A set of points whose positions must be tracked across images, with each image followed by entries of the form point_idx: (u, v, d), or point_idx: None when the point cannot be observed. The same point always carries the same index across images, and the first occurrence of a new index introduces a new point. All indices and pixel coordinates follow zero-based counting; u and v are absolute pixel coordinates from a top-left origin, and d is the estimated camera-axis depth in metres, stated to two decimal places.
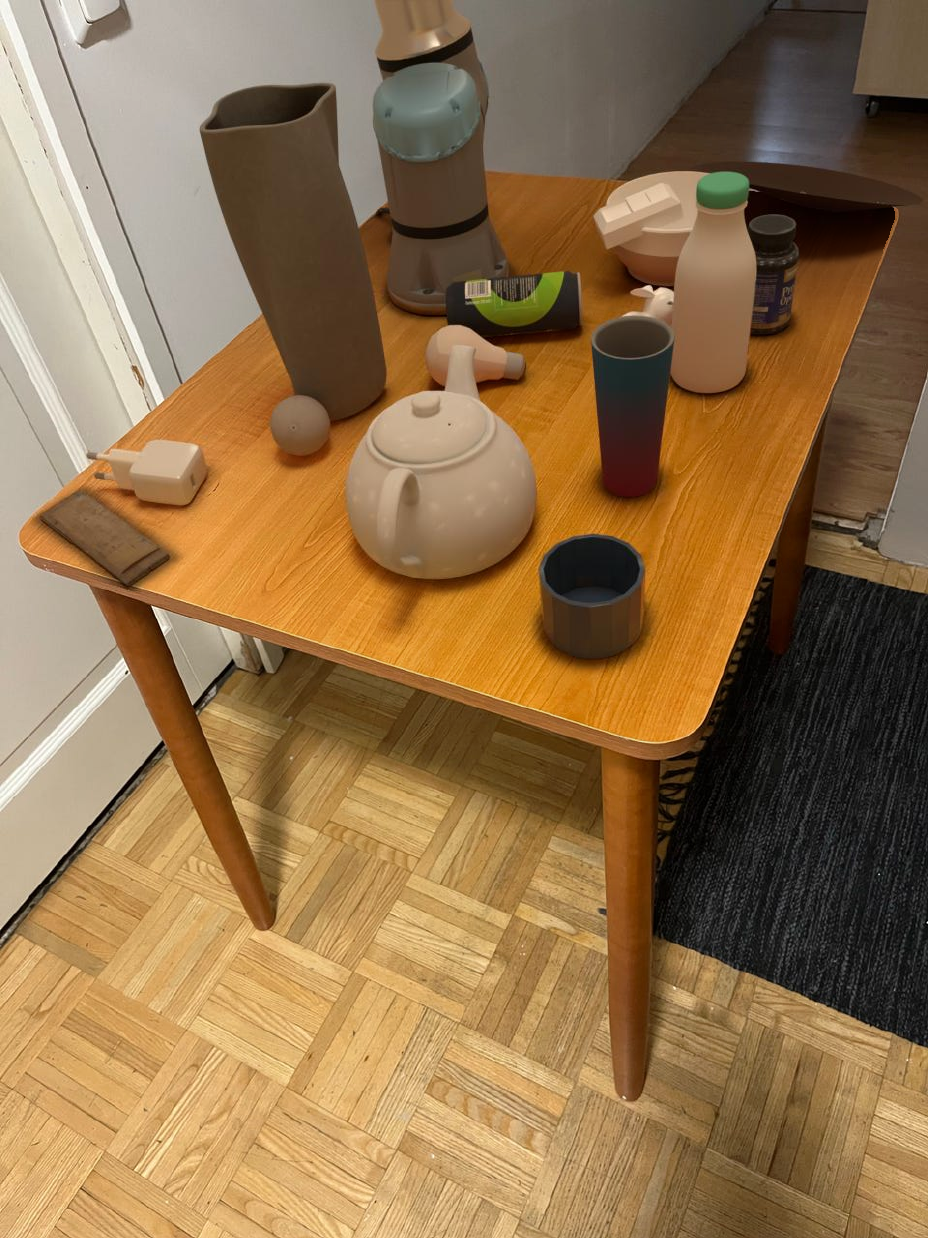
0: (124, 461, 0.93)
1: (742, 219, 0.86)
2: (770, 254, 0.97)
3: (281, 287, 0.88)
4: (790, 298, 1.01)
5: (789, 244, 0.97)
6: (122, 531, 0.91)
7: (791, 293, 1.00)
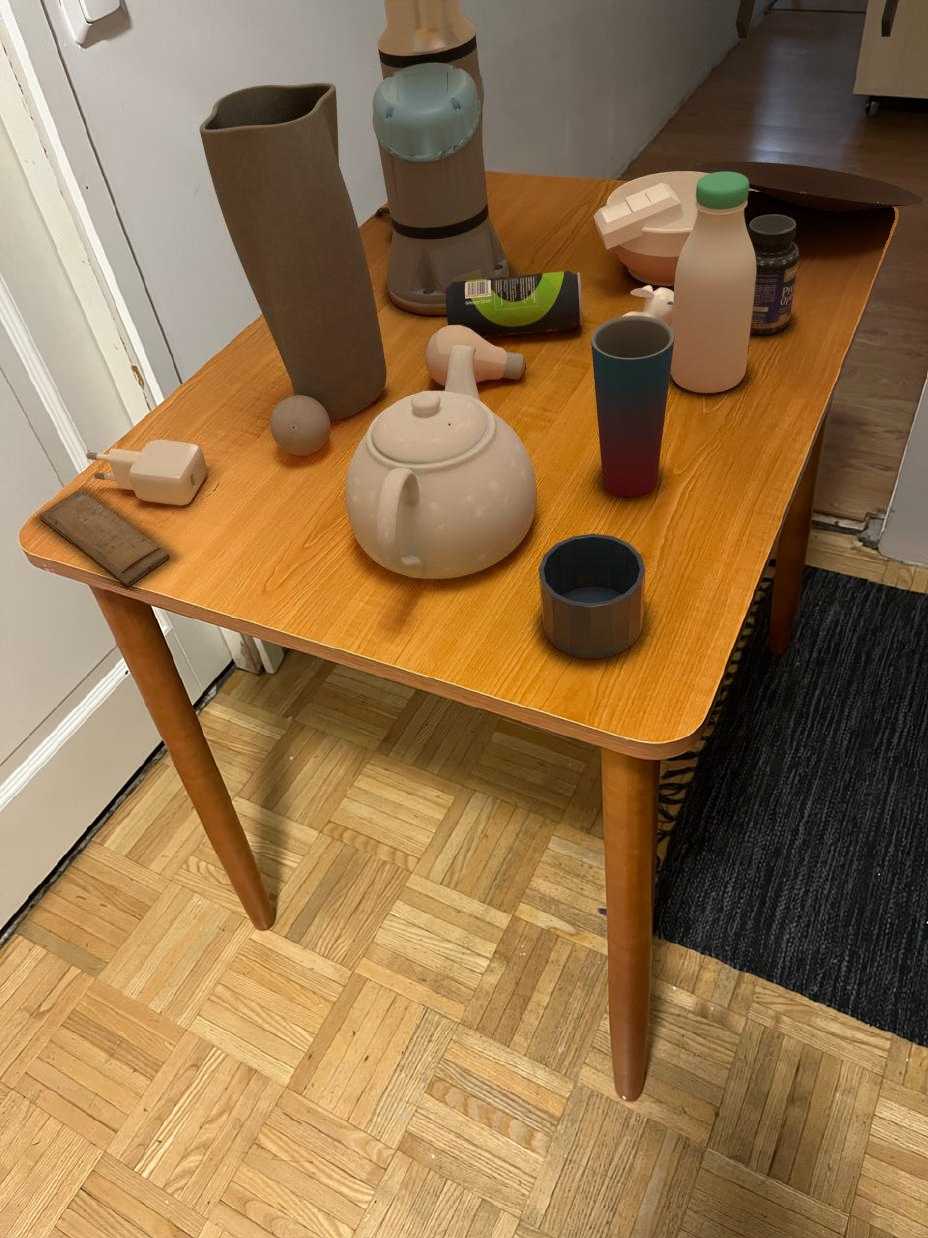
0: (124, 461, 0.93)
1: (742, 219, 0.86)
2: (770, 253, 0.97)
3: (281, 287, 0.88)
4: (790, 298, 1.01)
5: (789, 244, 0.97)
6: (122, 531, 0.91)
7: (791, 293, 1.00)
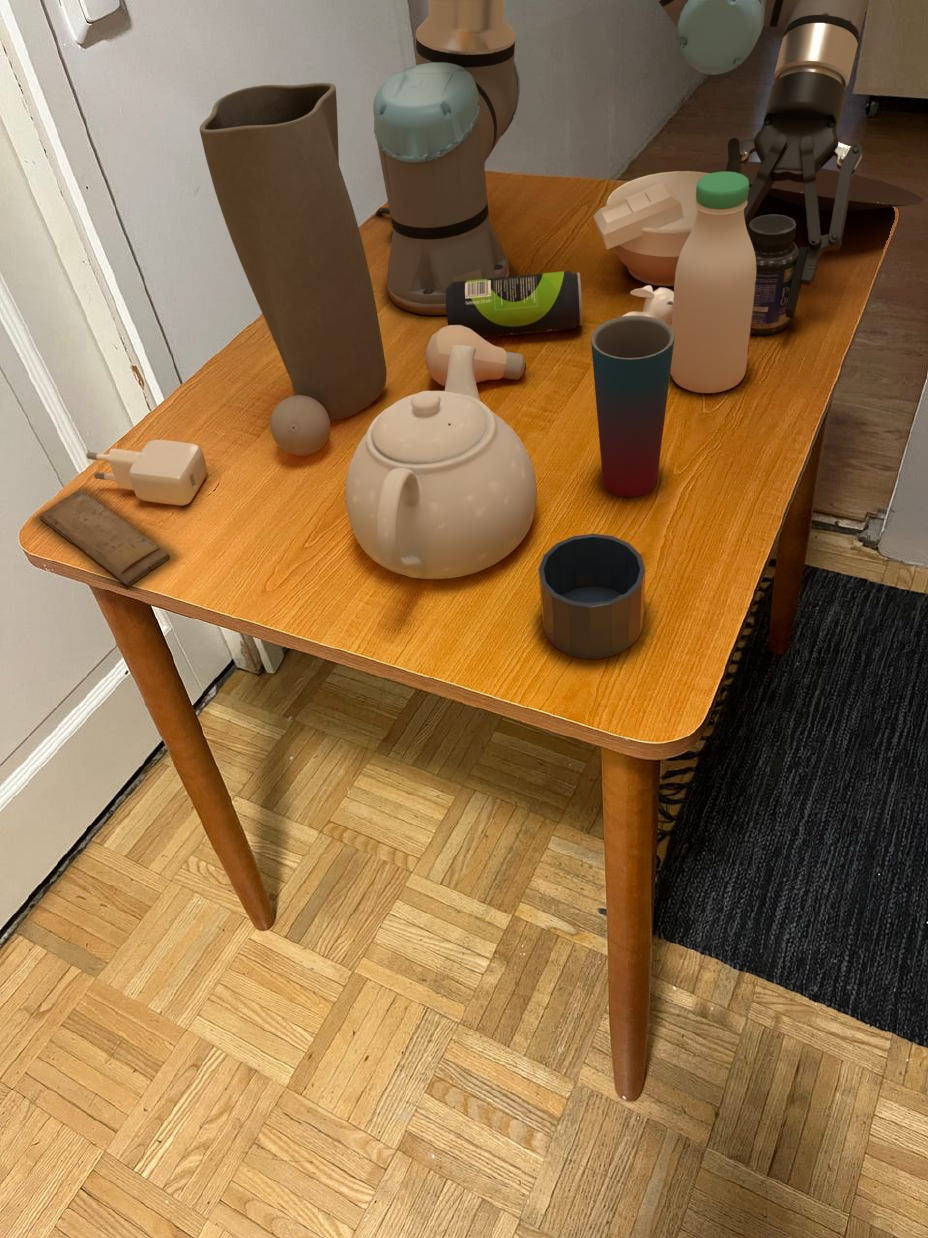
0: (124, 461, 0.93)
1: (742, 219, 0.86)
2: (770, 253, 0.97)
3: (281, 287, 0.88)
4: None
5: (789, 244, 0.97)
6: (122, 531, 0.91)
7: None
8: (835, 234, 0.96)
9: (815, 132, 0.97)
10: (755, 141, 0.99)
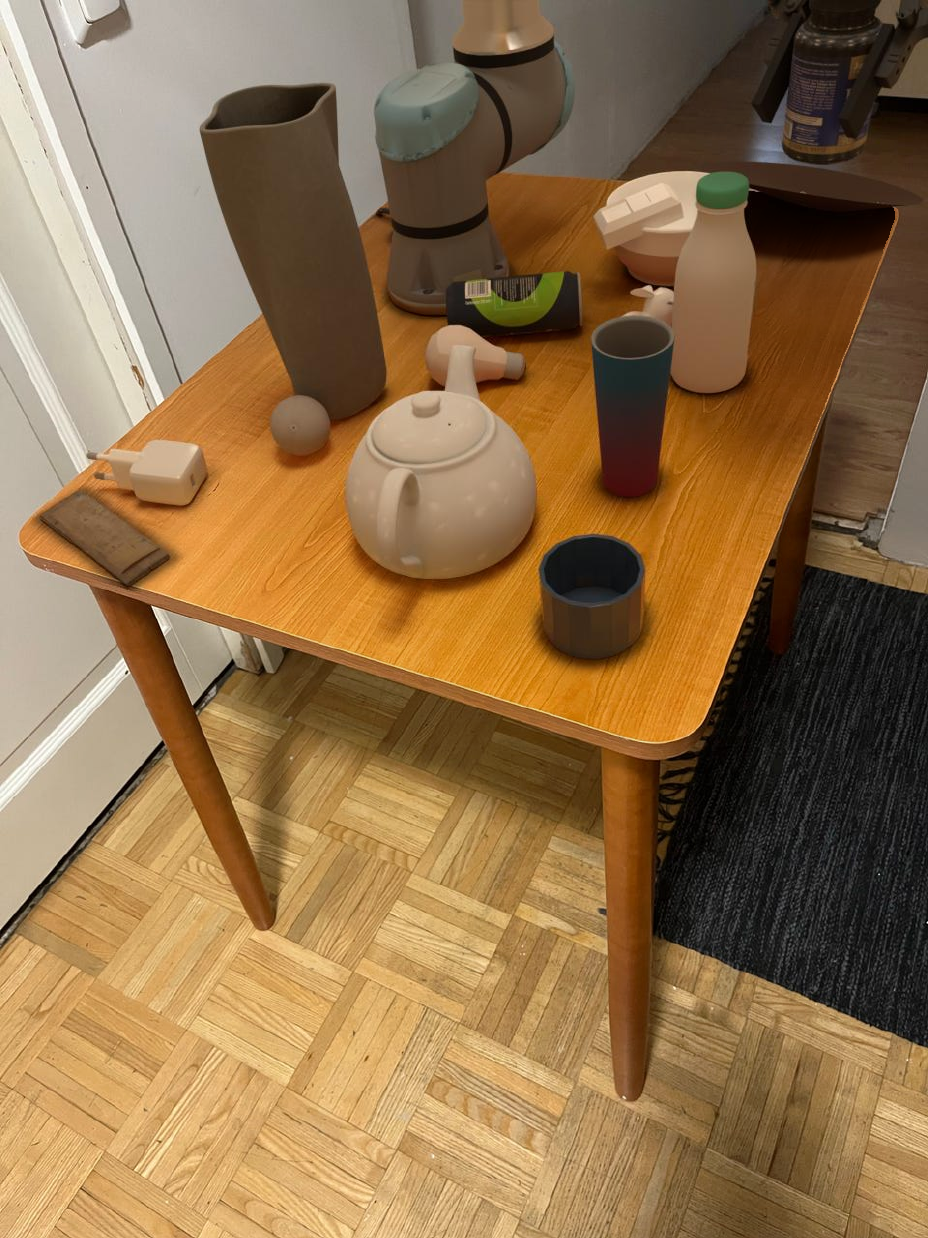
0: (124, 461, 0.93)
1: (742, 219, 0.86)
2: (833, 29, 0.65)
3: (281, 287, 0.88)
4: None
5: (866, 17, 0.65)
6: (122, 531, 0.91)
7: None
8: None
9: None
10: None
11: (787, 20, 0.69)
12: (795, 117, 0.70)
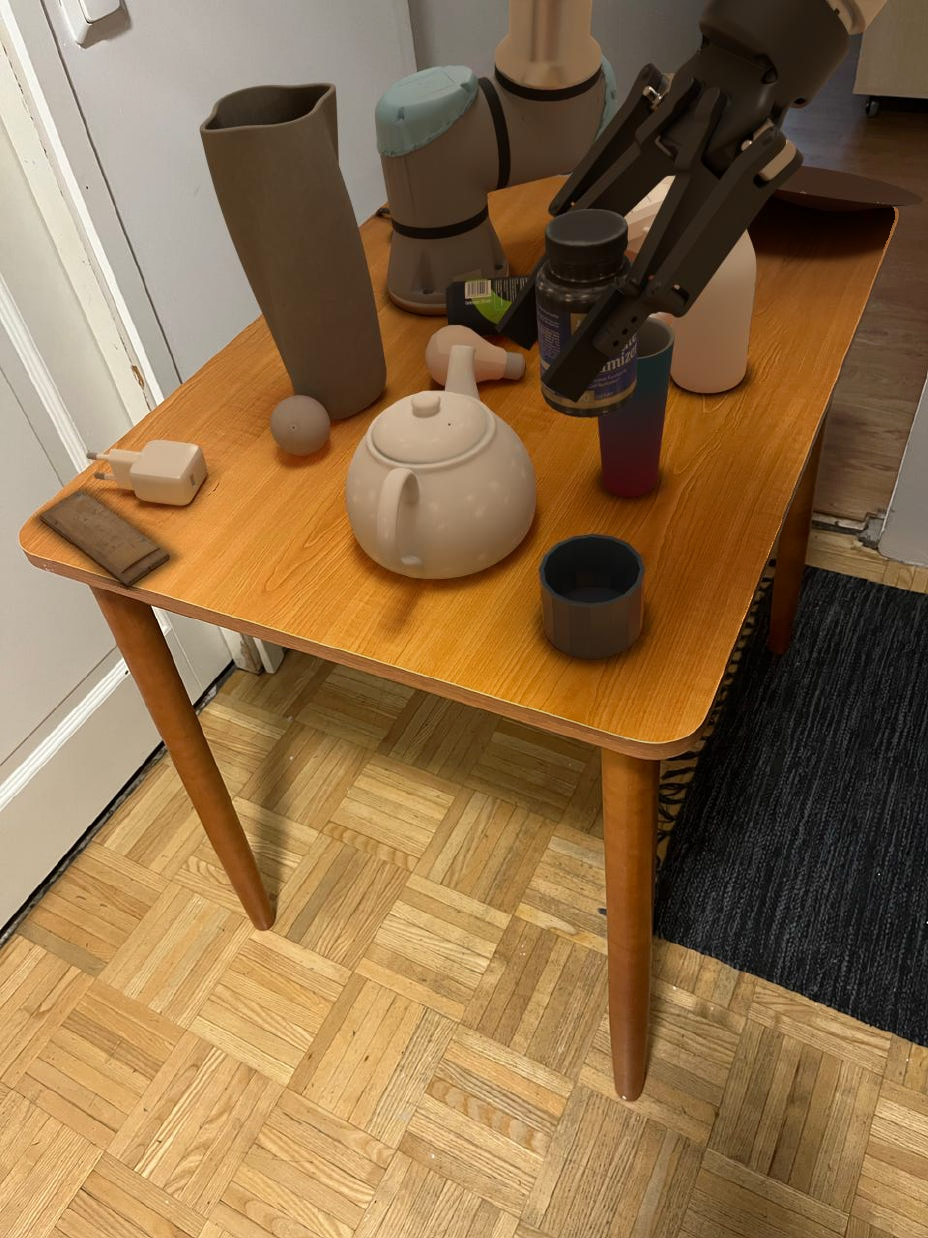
0: (124, 461, 0.93)
1: None
2: (557, 275, 0.54)
3: (281, 287, 0.88)
4: None
5: (594, 272, 0.53)
6: (122, 531, 0.91)
7: None
8: (656, 284, 0.50)
9: (741, 85, 0.49)
10: (672, 78, 0.54)
11: None
12: (539, 355, 0.59)
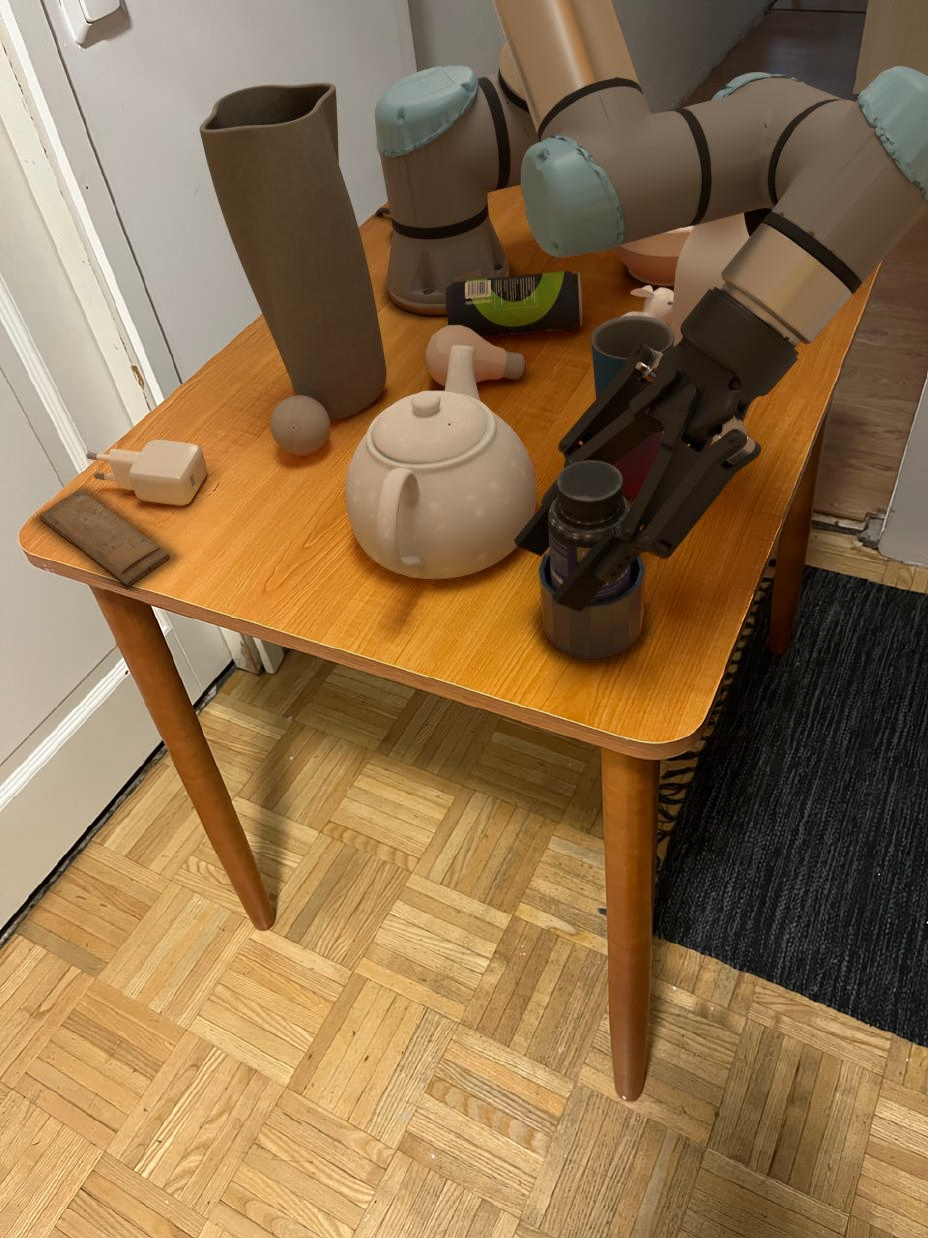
0: (124, 461, 0.93)
1: (742, 219, 0.86)
2: (566, 516, 0.67)
3: (281, 287, 0.88)
4: None
5: (596, 517, 0.66)
6: (122, 531, 0.91)
7: None
8: (646, 538, 0.63)
9: (713, 385, 0.62)
10: (659, 360, 0.67)
11: None
12: (550, 565, 0.72)
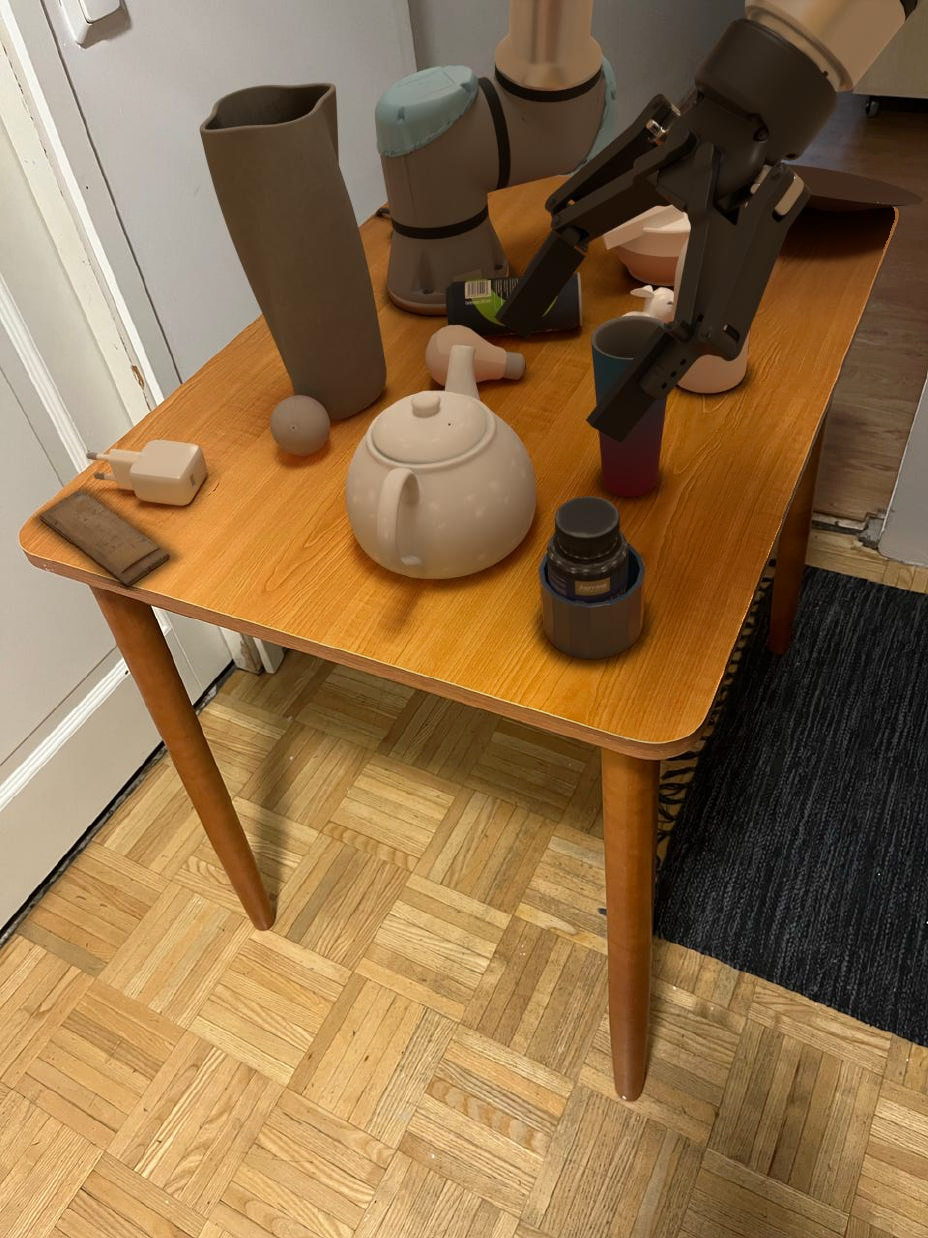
0: (124, 461, 0.93)
1: None
2: (564, 551, 0.69)
3: (281, 287, 0.88)
4: None
5: (593, 552, 0.68)
6: (122, 531, 0.91)
7: None
8: (708, 328, 0.50)
9: (726, 149, 0.52)
10: (672, 122, 0.56)
11: None
12: None
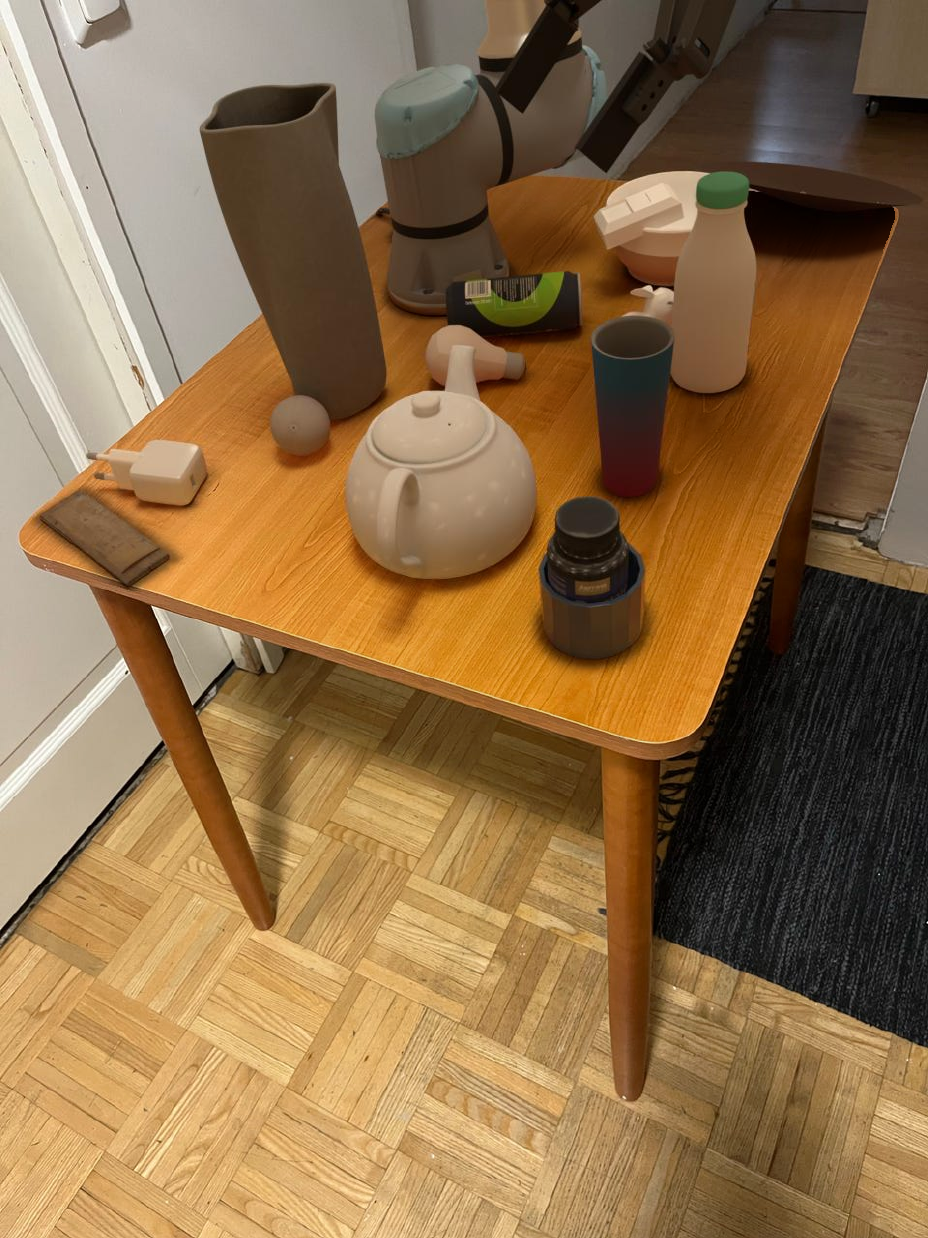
0: (124, 461, 0.93)
1: (742, 219, 0.86)
2: (564, 551, 0.69)
3: (281, 287, 0.88)
4: None
5: (593, 552, 0.68)
6: (122, 531, 0.91)
7: None
8: (681, 41, 0.56)
9: None
10: None
11: None
12: None
